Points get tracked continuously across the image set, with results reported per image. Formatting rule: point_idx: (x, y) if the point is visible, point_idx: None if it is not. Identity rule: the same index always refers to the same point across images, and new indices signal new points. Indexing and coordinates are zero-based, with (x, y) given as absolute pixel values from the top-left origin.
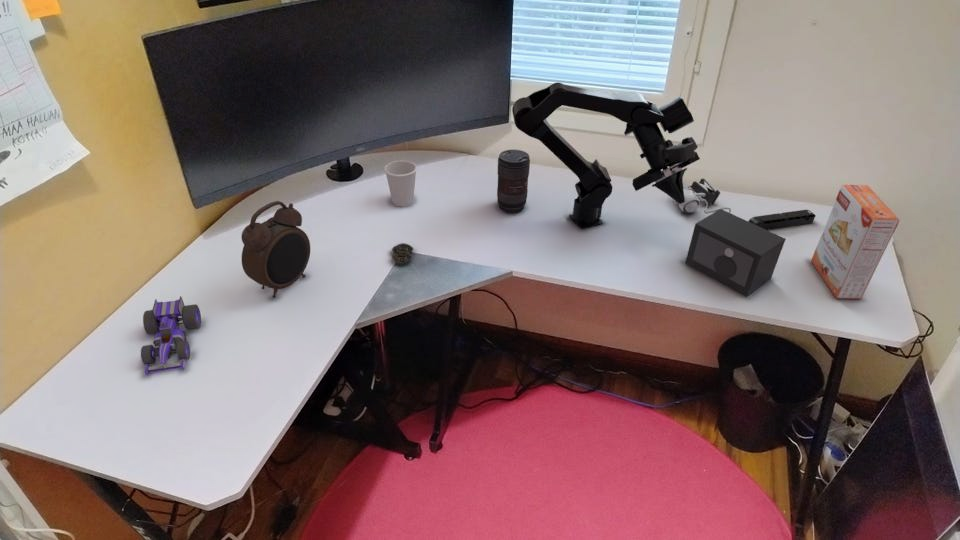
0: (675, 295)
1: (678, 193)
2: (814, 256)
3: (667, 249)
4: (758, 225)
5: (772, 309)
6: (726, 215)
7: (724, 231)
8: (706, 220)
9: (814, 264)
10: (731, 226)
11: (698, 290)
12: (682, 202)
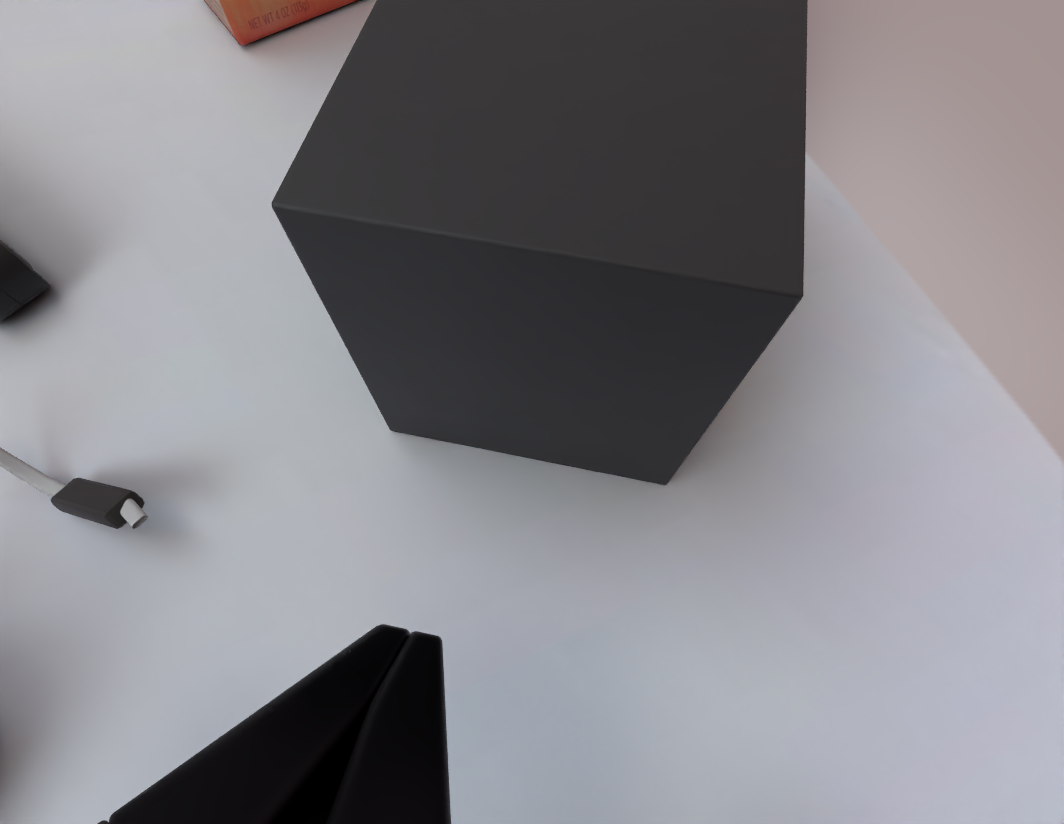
0: (995, 403)
1: (436, 795)
2: (240, 2)
3: (596, 661)
4: (11, 249)
5: None
6: (391, 123)
7: (708, 61)
8: (644, 229)
9: (274, 25)
10: (571, 47)
11: (846, 329)
12: (441, 644)
